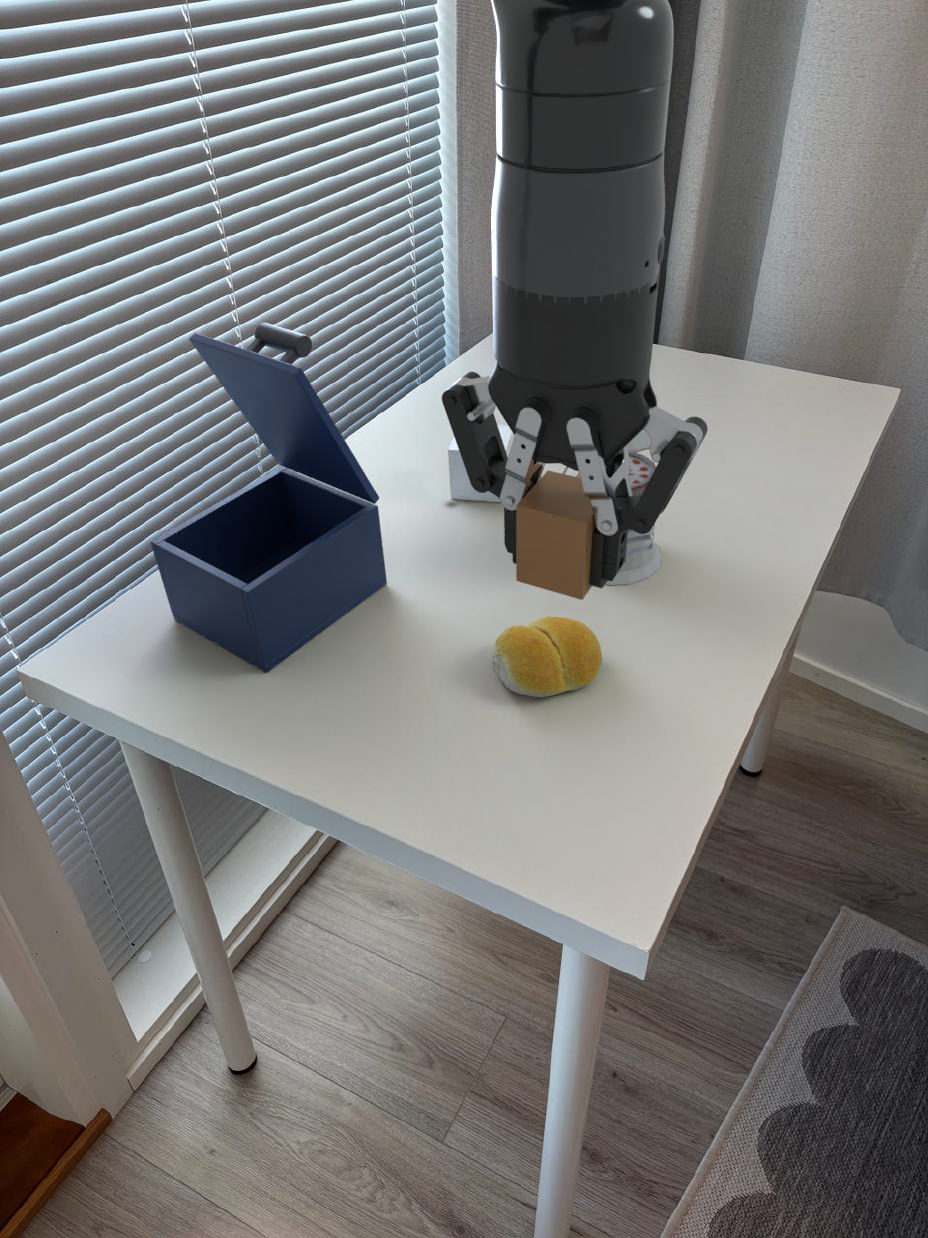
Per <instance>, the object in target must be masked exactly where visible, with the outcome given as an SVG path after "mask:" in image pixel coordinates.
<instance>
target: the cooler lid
mask: <svg viewBox="0 0 928 1238" xmlns="http://www.w3.org/2000/svg"><path fill="white" fill-rule="evenodd" d="M188 339H189V341H190V343H191V344H192V346H193V347H194V348H195V350H196V351H197V352H198V354H199V355H200V356H201V358H202V359H203V361H204V363H205V364H206V365H207V367H208V368H209V370H210V371H211V372H212V373H213V375H214V376H215V378H216V380H217V381H218V382H219V383H220V385H221V386H222V387H223V389H224V390H225V392H226V393H227V395H228V396H229V397H230V399H231V400H232V401H233V403H234V404H235V406H236V407H237V408H238V410H239V412H240V413H241V414H242V415H243V417H244V419H245V420H246V421H247V422H248V424H249V425H250V427H251V428H252V429H253V430H254V433H256V435H257V437H258V438H259V439H260V441H261V442H262V443H263V445H264V446H265V448H266V449H267V451H268V452H269V454H270V455H271V456H272V457H273V459H274V460H275V462H276V463H277V465H279V466H280V467H281V466H283V467H285V468H287V469H290V470H292V471H295V472H297V473H299V474H302V475H304V476H307V477H309V478H312V479H314V480H316V481H319V482H321V483H324V484H326V485H329V486H331V487H333V488H336V489H338V490H341V491H343V492H345V493H348V494H350V495H353V496H355V497H358V498H360V499H362V500H365V501H367V502H370V503H371V504H375V505H376V504H377V502H378V501H379V500H380V496H379V494H378V493H377V491H376V489H375V488H374V486H373V485H372V483H371V480H370V479H369V478H368V476H367V475H366V472H365V471H364V470H363V468H362V466H361V464H360V462H359V461H358V460H357V458H356V456H355V455H354V453H353V451H352V449H351V448H350V447H349V445H348V443H347V441H346V440H345V438H344V437H343V435H342V432H341V431H340V430H339V429H338V427H337V425H336V423H335V421H334V420H333V418H332V416H331V415H330V413H329V412H328V410H327V409H326V407H325V405H324V403H323V402H322V400H321V398H320V397H319V395H318V393H317V392H316V390H315V388H314V387H313V385H312V383H311V382H310V380H309V379H308V377H307V375H306V373H305V372H304V370H303V369H302V368H301V367H299V366H297V365H294V363H295V362H296V361H297V359H299V358H302V359H304V358H307V357H308V356H309V355H310V354H311V352H312V349H313V341H312V339H311V337H310V336H309V335H308V334H307V335H306V334H303V333H300V332H297V331H293V330H291V329H287V328H284V327H281V326H277V325H274V324H271V323H268V322H261V323H259V324H258V325H257V326H256V328H255V330H254V339H253V340H252V341H251V343H250V344H249V345H248V346H247V347H246V348H244V347H243V348H242V347H239V346H237V345H234V344H231V343H228V342H225V341H221V340H219V339H215V338H213V337H209V336H207V335H203V334H200V333H197V332H194V333H192V335H190V336H189V338H188ZM265 347H267V348H269V349H273V350H276V351H278V352H279V351H280V352H283V353H284V354H283V355H282V357H281V358H280V359H279V360H278V359H275V358H273V357H270V356H268V355H263V354H261V353H260V352H261V351H262V350H263V349H264V348H265Z"/></svg>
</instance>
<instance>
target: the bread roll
mask: <svg viewBox="0 0 928 1238" xmlns="http://www.w3.org/2000/svg"><path fill="white" fill-rule="evenodd" d="M602 659H603V657H602V648H601V644H600V642H599V639H598V638H597V636H596V634H595V633H594V632H593V631H592V629H591V628H589V627H588V626H587V625H586V624H584V623H583V622H581V621H580V620H577V619H574V618H569V617H564V616H549V615H548V616H544V617H542V618H538V619H536V620H534V621H532V622H530V623H529V624H527V625H522V624H521V625H519V624H518V625H517V624H516V625H512V626H509V627H507V628H506V629H505V630H503V632H501V633H500V634H499V636H498V637H497V638H496V641H495V644H494V647H493V654H492V659H491V662H492V665H493V667H494V669H495V671H496V674H497V676H498V678H499V680H500V681H501V682H502V684H503V685H504V686H505V687H506V689H508V690H509V691H511V692H513V693H516V694H518V695H521V696H522V695H524V696H528V697H534V698H546V697H552V696H555V695H558V694H562V693H565V692H568V691H570V692H571V691H576V690H580V689H582V688H584V687H587V686H589V685H591V684H592V683H593V682H594V681H595V679H596V678H597V676H598V675H599V671H600V669H601V666H602Z"/></svg>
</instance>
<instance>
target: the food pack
mask: <svg viewBox="0 0 928 1238" xmlns="http://www.w3.org/2000/svg"><path fill="white" fill-rule="evenodd" d="M595 528H596V523H595V519H594V515H593V510H592V506H591V501H590V498H589V497H586V496H585V495H584V492H583V488H582V483H581V479H580V478H578V477H576V476H574V475H570V474H566V473H565V474H562V473H561V472H557V471H554V470H553V471H552V470H547V471H546V472H545V473H543V474H542V475H541V478H540V480H539V481H538V482H537V483H536V484H535V485H534V486H533V487H532V488H531V490H530V491H529V492H528V493H527V494H526V495H525V496H524V497H523V498H522V500H521V501H520V502H519V503H518V504H517V505H516V564H515V565H516V567H515V568H516V571H515V572H516V575H515V577H516V579H515V580H516V582H519V583H523V584H526V585H529V586H533V587H536V588H539V589H543V590H547V591H550V592H553V593H557V594H561V595H563V596H568V597H570V598H573V599H577V600H581V601H583V600H584V598H585V597H586V595H588V593H589V592H590V590H591V588H593V586H591V585H590V584H589V581H590V564H591V547H592V532H593V531H594V530H595Z"/></svg>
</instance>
